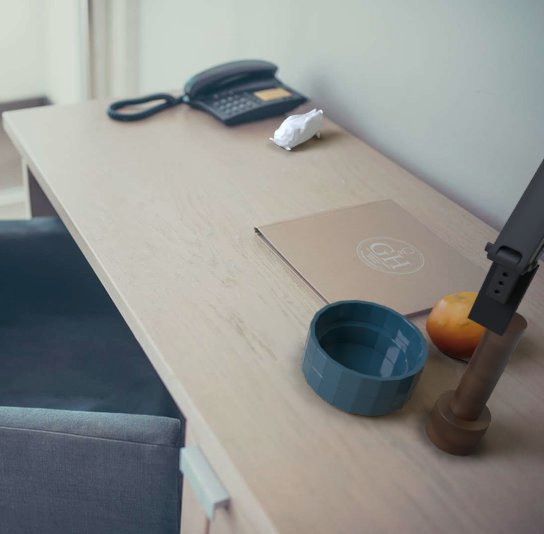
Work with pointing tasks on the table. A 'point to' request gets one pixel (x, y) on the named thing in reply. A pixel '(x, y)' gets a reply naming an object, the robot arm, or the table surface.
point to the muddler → (473, 393)
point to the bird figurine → (298, 129)
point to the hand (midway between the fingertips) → (522, 288)
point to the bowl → (363, 357)
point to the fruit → (454, 325)
